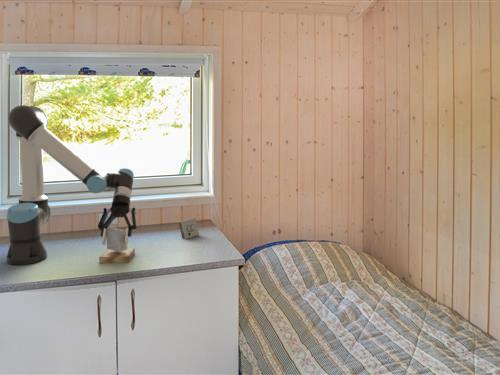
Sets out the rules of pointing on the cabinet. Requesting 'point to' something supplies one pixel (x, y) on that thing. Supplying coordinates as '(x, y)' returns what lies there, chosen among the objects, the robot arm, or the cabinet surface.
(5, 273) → the cabinet surface
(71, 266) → the cabinet surface
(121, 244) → the grey curved block
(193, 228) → the electrical switch
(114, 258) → the plinth
